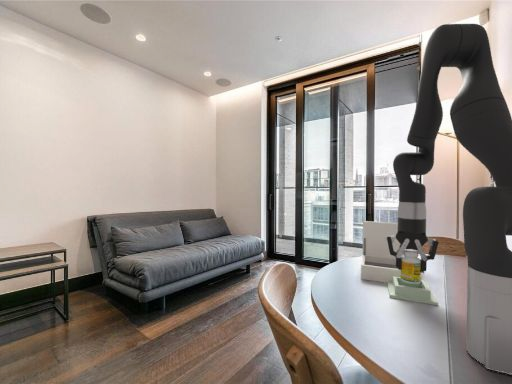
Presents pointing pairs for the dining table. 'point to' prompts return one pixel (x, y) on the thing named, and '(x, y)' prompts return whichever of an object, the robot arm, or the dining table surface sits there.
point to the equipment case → (379, 252)
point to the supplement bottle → (410, 267)
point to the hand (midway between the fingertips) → (410, 270)
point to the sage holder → (411, 291)
